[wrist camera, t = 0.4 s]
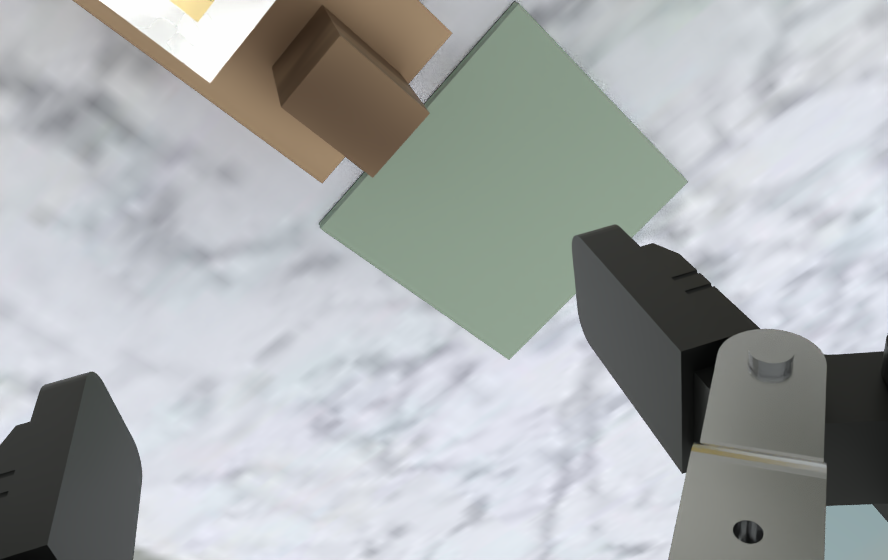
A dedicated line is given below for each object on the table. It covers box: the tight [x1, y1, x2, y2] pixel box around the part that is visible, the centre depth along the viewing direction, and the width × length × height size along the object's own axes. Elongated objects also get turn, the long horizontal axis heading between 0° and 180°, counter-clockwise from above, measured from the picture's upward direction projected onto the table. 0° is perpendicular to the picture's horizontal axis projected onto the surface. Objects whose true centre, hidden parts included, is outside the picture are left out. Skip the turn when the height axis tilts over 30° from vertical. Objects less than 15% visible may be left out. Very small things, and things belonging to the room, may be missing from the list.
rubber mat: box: [319, 2, 688, 360], centre depth 40 cm, size 14×14×1 cm
